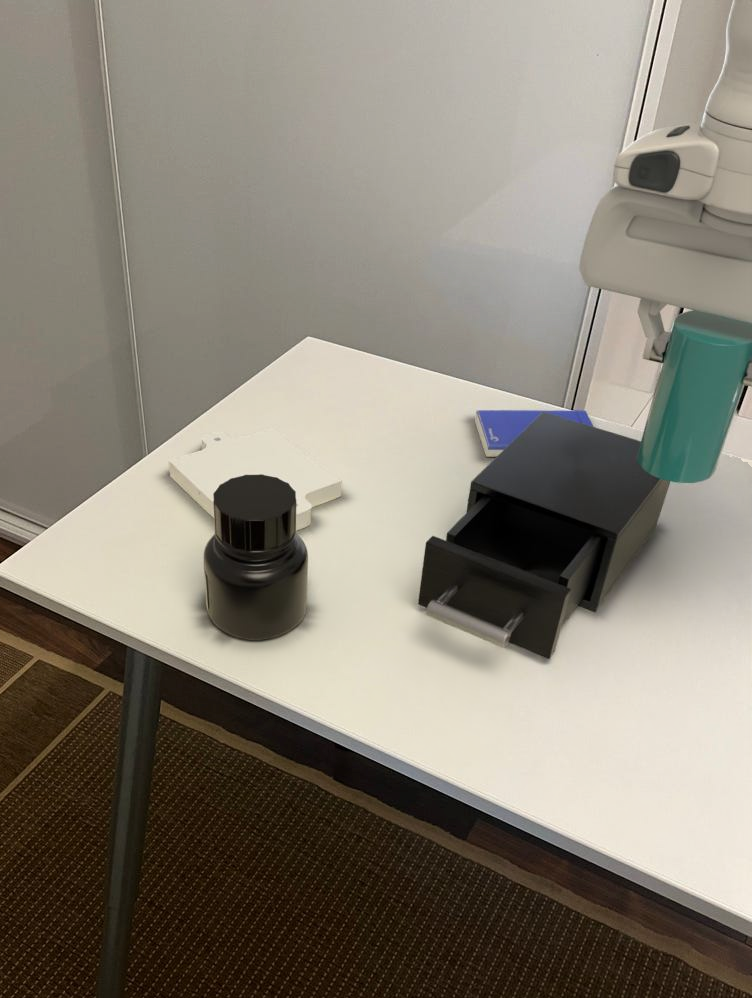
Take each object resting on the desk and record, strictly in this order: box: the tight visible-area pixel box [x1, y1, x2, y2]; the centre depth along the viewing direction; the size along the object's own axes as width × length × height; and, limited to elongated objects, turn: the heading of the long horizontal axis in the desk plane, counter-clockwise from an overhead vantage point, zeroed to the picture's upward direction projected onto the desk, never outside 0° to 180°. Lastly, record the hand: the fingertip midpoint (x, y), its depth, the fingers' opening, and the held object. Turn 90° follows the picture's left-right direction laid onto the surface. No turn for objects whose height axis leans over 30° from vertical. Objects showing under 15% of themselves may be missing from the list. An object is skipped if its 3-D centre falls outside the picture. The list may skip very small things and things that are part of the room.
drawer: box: [417, 494, 607, 660], centre depth 84 cm, size 19×12×7 cm, turn 145°
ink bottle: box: [203, 474, 309, 641], centre depth 83 cm, size 10×9×12 cm
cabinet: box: [465, 412, 672, 613], centre depth 91 cm, size 16×14×9 cm
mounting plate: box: [168, 426, 343, 532], centre depth 101 cm, size 18×13×2 cm
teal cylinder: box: [637, 310, 752, 484], centre depth 71 cm, size 6×6×11 cm
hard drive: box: [474, 409, 594, 458], centre depth 108 cm, size 2×8×12 cm
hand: (703, 371), depth 70 cm, fingers closed on teal cylinder, 6 cm apart
